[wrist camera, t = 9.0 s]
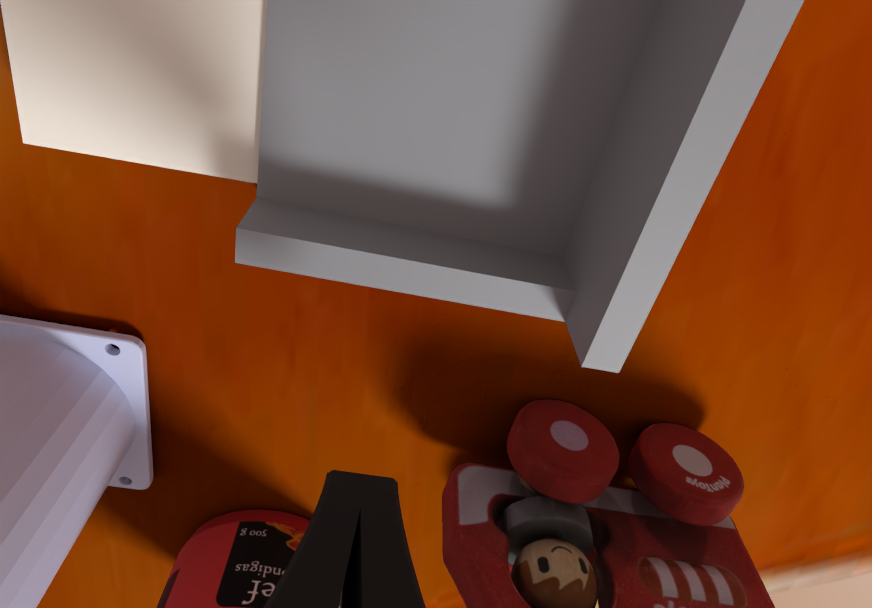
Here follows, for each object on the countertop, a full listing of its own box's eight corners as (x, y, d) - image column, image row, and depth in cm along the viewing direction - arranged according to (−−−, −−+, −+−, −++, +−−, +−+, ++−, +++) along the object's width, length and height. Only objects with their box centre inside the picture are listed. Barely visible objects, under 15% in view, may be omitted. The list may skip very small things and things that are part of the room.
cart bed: (270, 203, 18) (210, 304, 13) (307, -325, 12) (221, -520, 7) (568, 261, 19) (619, 372, 14) (742, -189, 13) (938, -271, 8)
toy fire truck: (467, 379, 22) (494, 664, 14) (750, 432, 24) (937, 714, 15) (424, 495, 26) (424, 780, 17) (674, 534, 28) (791, 810, 19)
